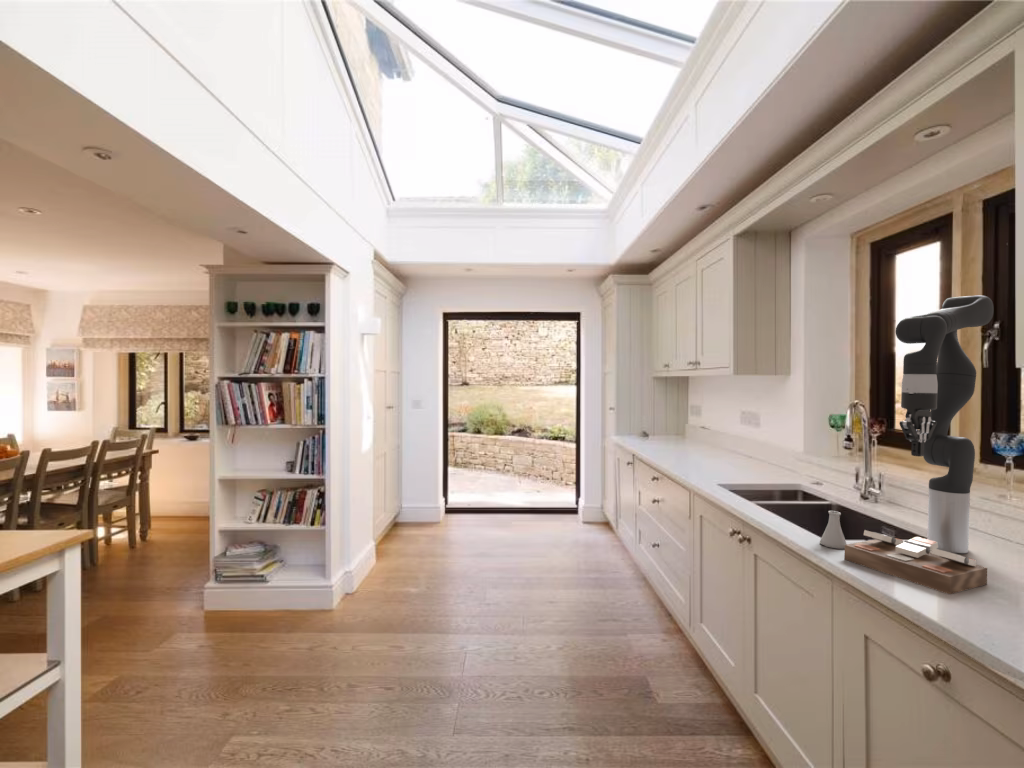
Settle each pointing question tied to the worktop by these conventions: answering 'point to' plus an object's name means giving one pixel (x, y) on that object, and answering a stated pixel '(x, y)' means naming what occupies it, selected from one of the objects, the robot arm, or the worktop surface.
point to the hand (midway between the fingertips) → (917, 455)
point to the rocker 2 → (916, 547)
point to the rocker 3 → (954, 557)
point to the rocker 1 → (883, 537)
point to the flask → (833, 532)
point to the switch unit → (917, 567)
